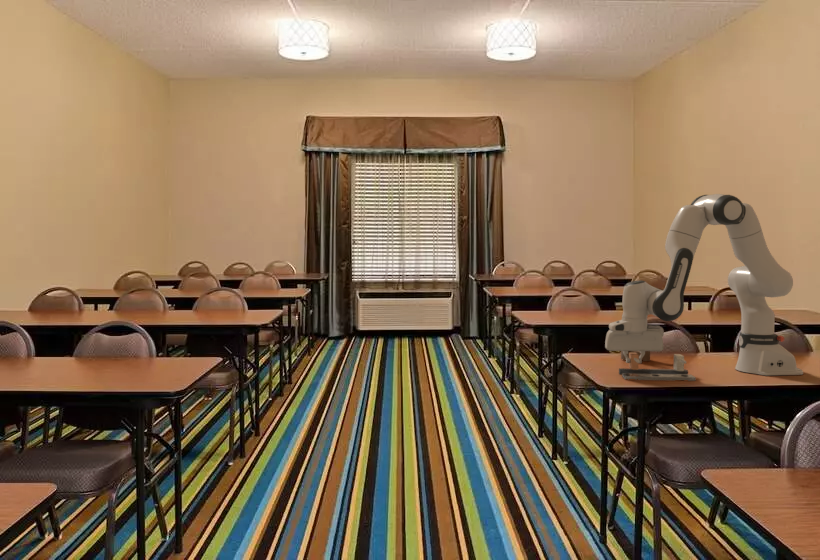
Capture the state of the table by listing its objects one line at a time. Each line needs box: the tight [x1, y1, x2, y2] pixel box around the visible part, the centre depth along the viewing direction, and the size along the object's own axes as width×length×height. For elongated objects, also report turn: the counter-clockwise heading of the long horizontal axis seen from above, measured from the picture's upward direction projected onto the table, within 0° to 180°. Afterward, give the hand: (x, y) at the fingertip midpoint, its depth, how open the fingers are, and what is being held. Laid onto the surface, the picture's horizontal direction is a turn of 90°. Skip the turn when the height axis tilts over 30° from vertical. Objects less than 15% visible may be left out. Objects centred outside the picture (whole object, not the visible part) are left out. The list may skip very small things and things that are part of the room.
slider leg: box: [628, 353, 641, 370], centre depth 254 cm, size 2×10×5 cm, turn 175°
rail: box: [618, 353, 689, 375], centre depth 253 cm, size 24×10×7 cm, turn 85°
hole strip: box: [621, 373, 697, 382], centre depth 249 cm, size 24×5×1 cm, turn 85°
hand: (633, 362), depth 257 cm, fingers closed on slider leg, 2 cm apart
